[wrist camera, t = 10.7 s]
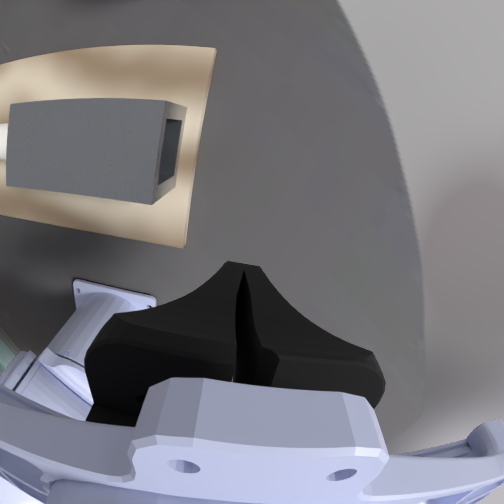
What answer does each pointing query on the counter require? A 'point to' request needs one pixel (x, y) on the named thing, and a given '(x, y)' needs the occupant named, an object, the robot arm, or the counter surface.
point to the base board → (113, 86)
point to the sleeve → (96, 147)
